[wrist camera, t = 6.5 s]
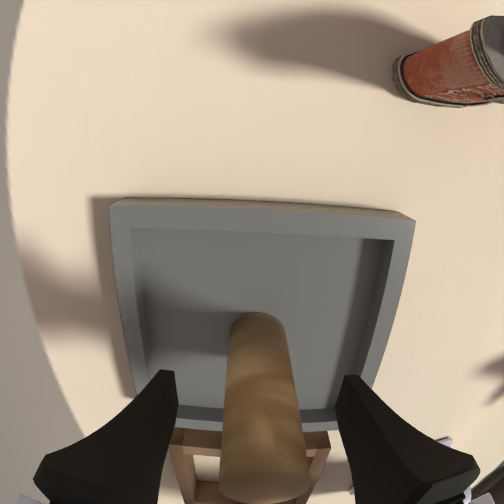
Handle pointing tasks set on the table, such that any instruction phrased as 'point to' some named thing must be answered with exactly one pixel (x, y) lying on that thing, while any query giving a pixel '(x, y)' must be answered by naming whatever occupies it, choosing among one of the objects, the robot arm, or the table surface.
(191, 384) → the tray
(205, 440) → the holder
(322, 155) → the table surface
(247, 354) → the pin
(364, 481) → the robot arm
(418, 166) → the table surface
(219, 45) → the table surface
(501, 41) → the lighter
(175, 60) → the table surface
